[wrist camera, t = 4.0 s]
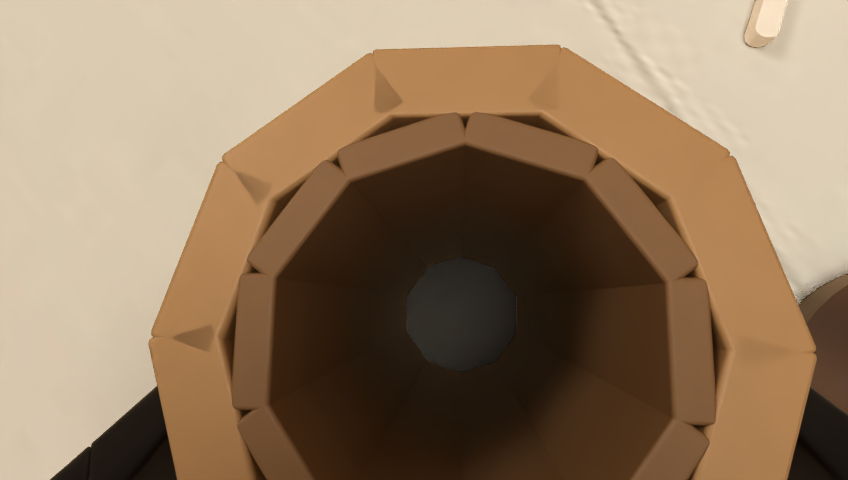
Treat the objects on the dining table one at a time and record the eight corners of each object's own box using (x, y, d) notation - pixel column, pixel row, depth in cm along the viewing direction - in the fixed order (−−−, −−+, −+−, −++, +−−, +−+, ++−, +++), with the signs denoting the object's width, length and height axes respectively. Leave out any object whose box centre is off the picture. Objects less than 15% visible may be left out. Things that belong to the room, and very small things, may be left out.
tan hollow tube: (484, 447, 17) (558, 887, 4) (335, 328, 18) (29, 395, 5) (590, 297, 18) (953, 287, 5) (439, 190, 18) (393, -64, 6)
